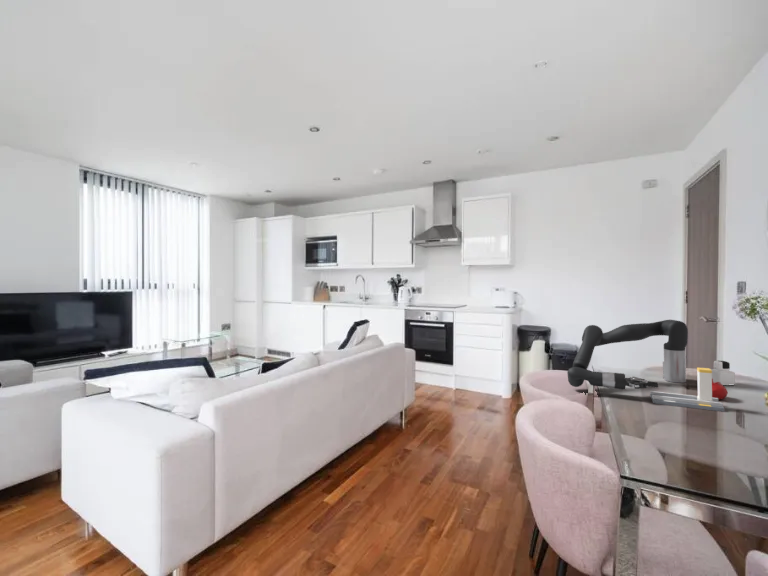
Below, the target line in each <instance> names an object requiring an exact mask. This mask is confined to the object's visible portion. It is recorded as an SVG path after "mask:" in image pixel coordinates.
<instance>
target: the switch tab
mask: <svg viewBox="0 0 768 576" xmlns="http://www.w3.org/2000/svg"><path fill="white" fill-rule="evenodd" d="M711 369H712V368H709V367H696V371H697V373H696V376H697V382H696V383H697V384H696V385H697V395H696V396H697V400H703V401H712V402H713V400H712V370H711Z"/></svg>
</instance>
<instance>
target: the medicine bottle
mask: <svg viewBox="0 0 768 576" xmlns="http://www.w3.org/2000/svg"><path fill="white" fill-rule="evenodd" d="M730 364H731V363H730V362H728V361H726V360H714V361H713V368H710V369H711V370H712V379H713V383H716V382H720V383H721V385H729V384H735V385H736V374H735V373H736V372H735V371H732V370H731V369H730V368H731V366H730ZM718 384H719V383H718Z"/></svg>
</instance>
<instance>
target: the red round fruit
mask: <svg viewBox="0 0 768 576" xmlns="http://www.w3.org/2000/svg"><path fill="white" fill-rule="evenodd" d="M718 383H719V384H718ZM727 396H728V389H727V388H726V386H723V385H721V383H720V382H716V383H713V379H712V398H718V401H719V400H724V399H726V397H727Z"/></svg>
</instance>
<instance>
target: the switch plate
mask: <svg viewBox="0 0 768 576" xmlns="http://www.w3.org/2000/svg"><path fill="white" fill-rule="evenodd" d="M649 392H650V393H649V397H650V399H651V401H652V403H653V404H657V405H664V406H665V405H666V406H675V407H681V408H682V407H683V408H689V409H690V408H691V409H698V410H708V411H714V412H715V411H716V412H723V413H725V407H724V403H723V402H720V401H719V400H718V398H712V400H713V402H712V401H703V400H697V396H698V395H692V394H685V393H684V394H682V393H675V392H674V393H673V392H663V391H654V390H650V391H649Z"/></svg>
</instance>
